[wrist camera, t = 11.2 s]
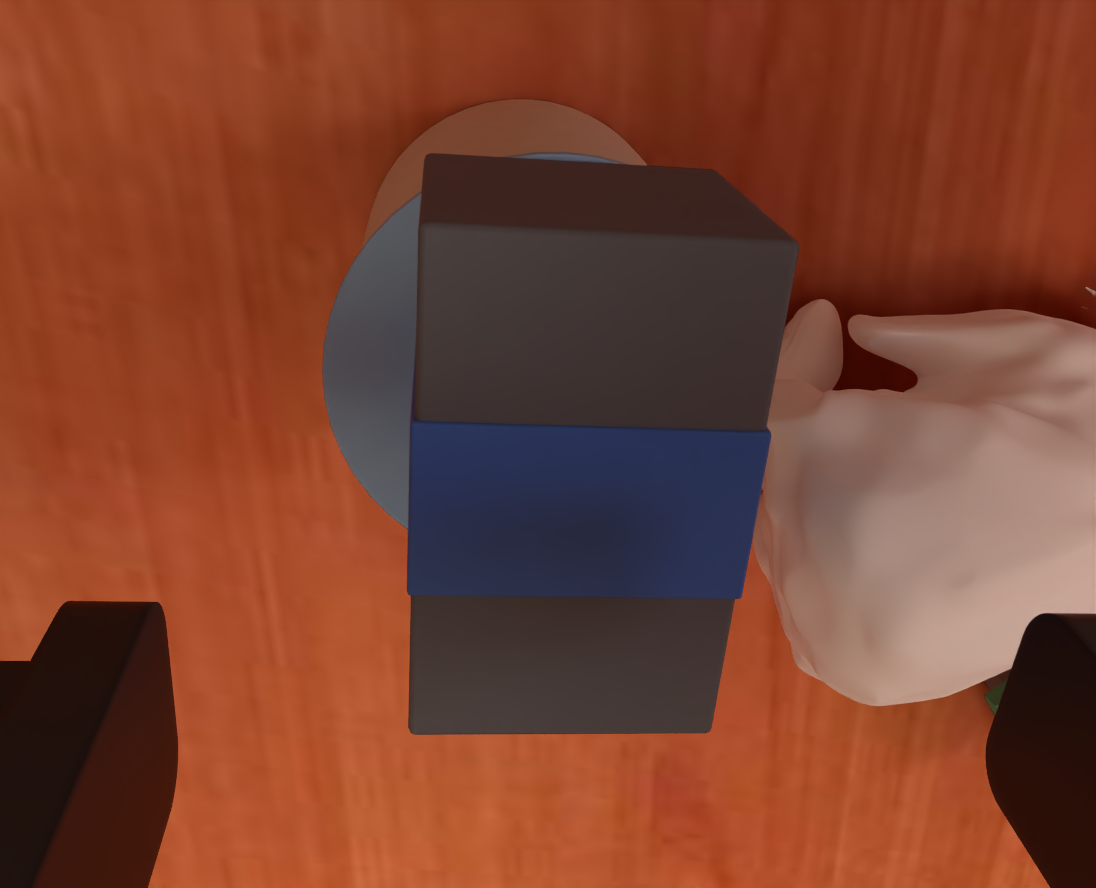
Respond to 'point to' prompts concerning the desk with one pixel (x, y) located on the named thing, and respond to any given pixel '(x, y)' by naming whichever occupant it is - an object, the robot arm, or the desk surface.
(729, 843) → the desk surface
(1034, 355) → the white lumpy elongated piece
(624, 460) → the block
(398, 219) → the yogurt
